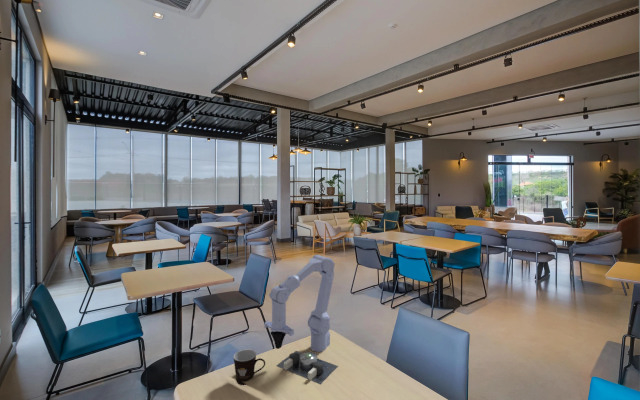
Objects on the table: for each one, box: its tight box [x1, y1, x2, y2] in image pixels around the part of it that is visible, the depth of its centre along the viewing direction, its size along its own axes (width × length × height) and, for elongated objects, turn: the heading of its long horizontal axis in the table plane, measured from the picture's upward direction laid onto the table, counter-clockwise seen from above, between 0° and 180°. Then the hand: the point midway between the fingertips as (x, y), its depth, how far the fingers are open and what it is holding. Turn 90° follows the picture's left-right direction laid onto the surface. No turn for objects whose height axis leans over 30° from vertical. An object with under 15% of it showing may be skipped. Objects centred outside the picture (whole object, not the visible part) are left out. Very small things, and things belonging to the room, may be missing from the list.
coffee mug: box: [233, 348, 266, 386], centre depth 118 cm, size 12×9×10 cm
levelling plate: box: [275, 350, 339, 385], centre depth 127 cm, size 14×22×6 cm, turn 58°
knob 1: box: [283, 352, 299, 371], centre depth 127 cm, size 8×4×3 cm, turn 147°
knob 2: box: [307, 362, 323, 381], centre depth 121 cm, size 8×4×3 cm, turn 148°
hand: (278, 347), depth 128 cm, fingers closed
